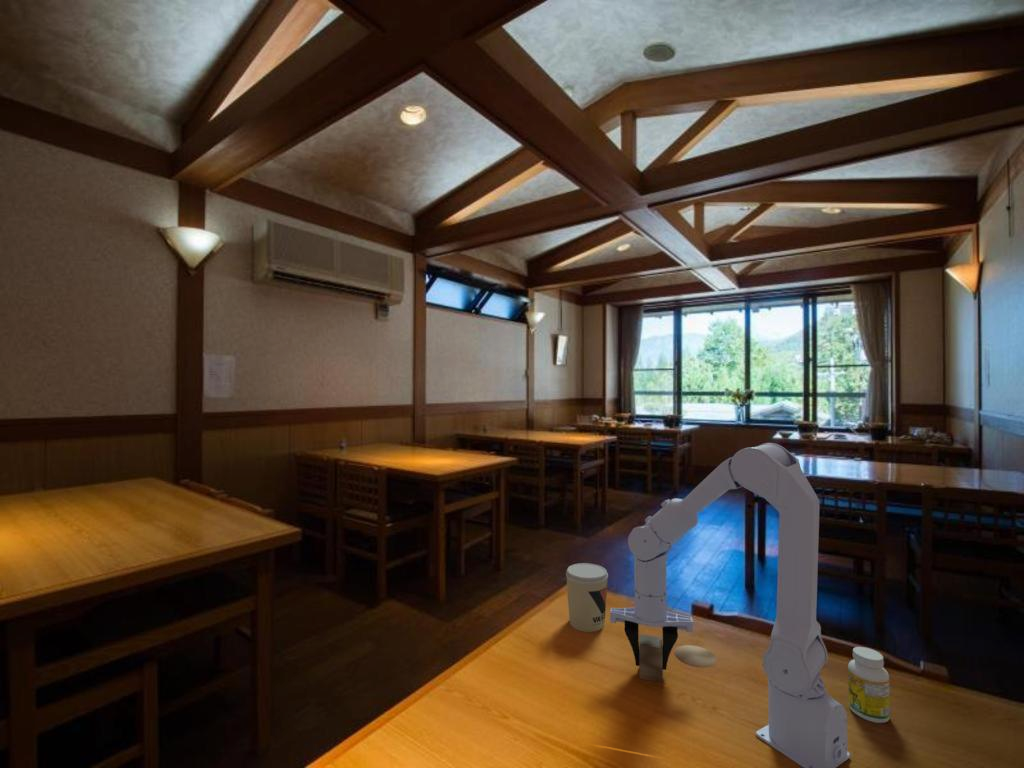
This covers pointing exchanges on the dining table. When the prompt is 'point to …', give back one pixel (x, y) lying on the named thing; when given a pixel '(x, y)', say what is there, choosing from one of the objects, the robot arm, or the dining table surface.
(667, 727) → the dining table surface
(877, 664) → the supplement bottle
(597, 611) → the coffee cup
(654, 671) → the walnut block
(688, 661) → the cork coaster
